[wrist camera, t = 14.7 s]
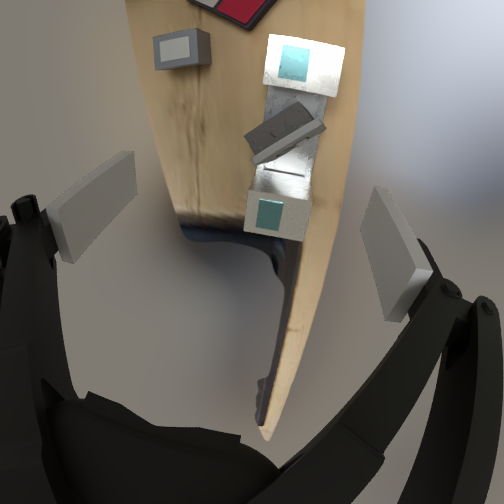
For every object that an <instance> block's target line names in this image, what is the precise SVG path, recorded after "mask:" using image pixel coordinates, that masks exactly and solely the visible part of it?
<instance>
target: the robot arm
mask: <svg viewBox="0 0 504 504" xmlns="http://www.w3.org/2000/svg"><path fill="white" fill-rule="evenodd" d="M136 185H137V184H136V173H135V159H134V151H121V152H120V153H118V154H117V155H115V156H114V157H112V158H111V159H109V160H108V161H106V162H105V163H103V164H102V165H100V166H99V167H98V168H96V169H95V170H93V171H92V172H90V173H89V174H88V175H86V176H85V177H84V178H82V179H81V180H80V181H78V182H77V183H76V184H74V185H73V186H72V187H70V188H69V189H68V190H66V191H65V192H64V193H63V194H62V195H60V196H59V197H58V198H56V200H54V201H53V202H52V203H50V204H49V205H48V206H47V207H46V208H45V209H44V210H43V211H41V212H40V210H39V207H38V204H37V199H36V196H35V195H26V196H23V197H21V198H19V199H17V200H16V201H15V202H14V203H12V205H11V209H12V213H13V216H14V219H15V222H16V224H11V225H9V222H8V219H7V216H0V504H351V503H352V502H353V500H354V499H355V498H356V497H357V496H358V495H359V494H360V492H361V491H362V490H363V489H364V488H365V487H366V485H367V484H368V483H369V482H370V481H371V479H372V478H373V477H374V476H375V474H376V473H377V472H378V470H379V469H380V467H381V466H382V464H383V463H384V460H385V457H384V455H383V453H384V451H385V449H386V448H387V446H388V445H389V444H390V442H391V441H392V439H393V438H394V436H395V435H396V433H397V432H398V430H399V429H400V427H401V426H402V424H403V423H404V421H405V419H406V418H407V416H408V415H409V413H410V411H411V410H412V408H413V406H414V405H415V403H416V401H417V399H418V398H419V396H420V394H421V392H422V390H423V389H424V387H425V385H426V383H427V381H428V379H429V377H430V375H431V373H432V371H433V369H434V367H435V365H436V363H437V361H438V359H439V357H440V354H441V352H442V356H441V362H440V368H439V373H438V379H437V384H436V389H435V393H434V398H433V402H432V406H431V410H430V414H429V418H428V421H427V425H426V428H425V432H424V435H423V438H422V442H421V445H420V448H419V451H418V454H417V456H416V459H415V462H414V465H413V467H412V470H411V472H410V475H409V477H408V480H407V482H406V485H405V487H404V489H403V491H402V494H401V496H400V498H399V501H398V503H397V504H484V503H485V500H486V497H487V493H488V490H489V486H490V482H491V478H492V473H493V469H494V464H495V459H496V454H497V448H498V441H499V434H500V426H501V416H502V402H503V401H502V400H503V354H502V338H501V327H500V318H499V312H498V309H497V308H496V306H495V304H494V303H493V301H492V300H490V299H488V298H487V297H484V296H479V297H478V298H477V299H476V300H475V301H474V303H471V302H469V301H466V300H464V299H462V293H461V291H460V289H459V288H458V287H457V286H456V285H455V284H454V283H453V282H451V281H450V280H448V279H445V278H443V276H442V274H441V272H440V270H439V268H438V266H437V264H436V262H435V261H434V259H433V257H432V255H431V253H430V251H429V249H428V248H427V246H426V245H425V244H424V243H423V242H422V241H421V240H420V239H417V238H416V237H415V235H414V233H413V231H412V230H411V228H410V226H409V224H408V223H407V221H406V219H405V217H404V216H403V214H402V212H401V211H400V209H399V208H398V206H397V204H396V203H395V201H394V199H393V198H392V196H391V195H390V193H389V191H388V190H387V189H384V188H380V187H377V186H374V189H373V192H372V195H371V198H370V201H369V204H368V207H367V210H366V213H365V216H364V219H363V221H362V224H361V227H360V232H361V235H362V238H363V241H364V244H365V247H366V251H367V254H368V258H369V261H370V264H371V268H372V272H373V275H374V279H375V282H376V286H377V290H378V294H379V298H380V302H381V306H382V310H383V314H384V319H385V321H391V322H401V321H402V320H403V319H404V317H405V316H406V314H407V313H408V315H409V318H410V321H409V323H408V324H407V325H406V327H405V328H404V329H403V331H402V332H401V333H400V335H399V336H398V338H397V340H396V341H395V343H394V344H393V346H392V347H391V348H390V350H389V351H388V353H387V354H386V355H385V357H384V358H383V360H382V361H381V362H380V363H379V365H378V366H377V367H376V369H375V370H374V371H373V372H372V374H371V375H370V376H369V378H368V379H367V380H366V381H365V382H364V384H363V385H362V386H361V387H360V389H359V390H358V391H357V392H356V393H355V394H354V396H353V397H352V398H351V399H350V400H349V401H348V402H347V404H346V405H345V406H344V407H343V408H342V409H341V410H340V411H339V413H338V414H337V415H336V416H335V417H334V418H333V419H332V420H331V421H330V422H329V423H328V424H327V425H326V426H325V427H324V428H323V429H322V430H321V431H320V432H319V433H318V434H317V435H316V436H315V437H314V438H313V439H312V440H311V441H310V442H309V443H308V444H307V445H306V446H305V447H304V448H303V449H301V450H300V451H299V452H298V453H297V454H296V455H294V456H293V457H292V458H291V459H290V460H289V461H287V462H286V463H285V464H284V465H283V466H281V467H280V468H279V469H278V468H277V467H276V466H275V465H274V464H273V463H272V462H271V461H270V460H269V459H268V458H267V457H265V456H264V455H263V454H261V453H260V452H258V451H257V450H255V449H253V448H251V447H249V446H247V445H245V444H242V443H240V439H241V435H235V434H229V433H224V432H218V431H214V430H209V429H204V428H200V427H162V426H155V425H153V424H151V423H149V422H147V421H146V420H144V419H143V418H141V417H139V416H137V415H136V414H135V413H133V412H132V411H130V410H129V409H127V408H126V407H124V406H123V405H121V404H119V403H117V402H114V401H111V400H109V399H106V398H104V397H101V396H99V395H97V394H94V393H92V392H90V391H88V393H87V395H86V398H85V399H79V398H78V396H77V394H76V392H75V390H74V388H73V385H72V382H71V377H70V372H69V368H68V363H67V357H66V352H65V346H64V340H63V334H62V327H61V319H60V310H59V301H58V288H57V268H56V259H55V257H54V255H55V253H56V252H57V251H58V250H59V253H60V256H61V259H62V261H64V262H68V263H72V264H75V262H76V261H77V260H78V259H79V258H80V256H81V255H82V254H83V252H84V251H85V250H86V249H87V248H88V247H89V246H90V244H91V243H92V242H93V241H94V240H95V239H96V238H97V236H98V235H99V234H100V233H101V232H102V231H103V230H104V229H105V228H106V226H107V225H108V224H109V223H110V222H111V221H112V220H113V219H114V218H115V217H116V215H118V214H119V212H120V211H121V210H122V209H123V208H124V207H125V206H126V205H127V204H128V203H129V202H130V201H131V200H132V199H133V198H134V197H135V196H136V195H137V186H136Z"/></svg>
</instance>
